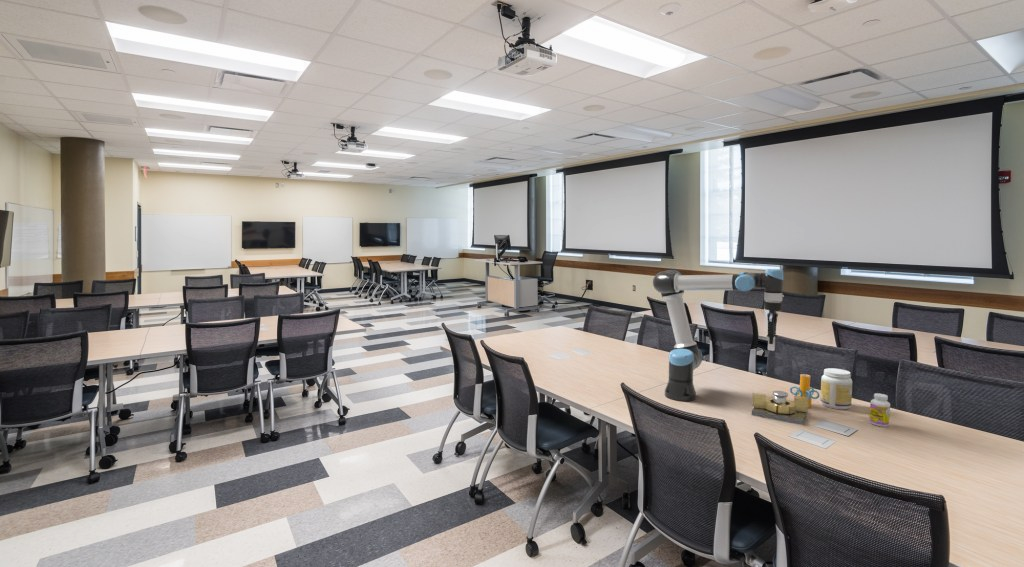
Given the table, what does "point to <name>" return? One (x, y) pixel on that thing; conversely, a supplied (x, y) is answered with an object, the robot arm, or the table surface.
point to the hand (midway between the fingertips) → (771, 350)
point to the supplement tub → (836, 388)
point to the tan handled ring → (787, 408)
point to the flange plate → (791, 418)
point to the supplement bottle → (879, 410)
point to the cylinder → (805, 389)
